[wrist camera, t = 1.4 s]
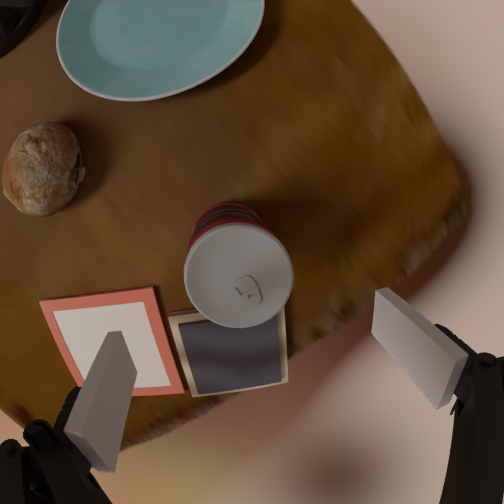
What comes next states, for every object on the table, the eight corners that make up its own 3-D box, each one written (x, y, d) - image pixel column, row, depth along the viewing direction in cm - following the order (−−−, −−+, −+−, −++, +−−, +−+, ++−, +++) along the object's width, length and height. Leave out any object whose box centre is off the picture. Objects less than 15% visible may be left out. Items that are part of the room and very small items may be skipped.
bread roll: (88, 204, 30) (90, 211, 24) (12, 221, 25) (-5, 234, 19) (82, 123, 27) (83, 108, 21) (5, 139, 22) (-14, 130, 16)
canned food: (235, 287, 32) (248, 345, 22) (176, 243, 30) (160, 288, 19) (281, 234, 31) (317, 272, 21) (223, 185, 29) (230, 200, 18)
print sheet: (40, 299, 29) (39, 301, 29) (153, 285, 31) (152, 287, 30) (85, 393, 34) (84, 395, 34) (185, 390, 36) (184, 392, 35)
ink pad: (168, 312, 32) (167, 319, 30) (281, 295, 33) (284, 301, 32) (192, 392, 36) (192, 400, 35) (286, 377, 37) (289, 385, 36)
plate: (265, 97, 27) (271, 91, 24) (60, 123, 24) (48, 121, 21) (255, -51, 20) (259, -64, 17) (79, -27, 17) (72, -37, 14)
